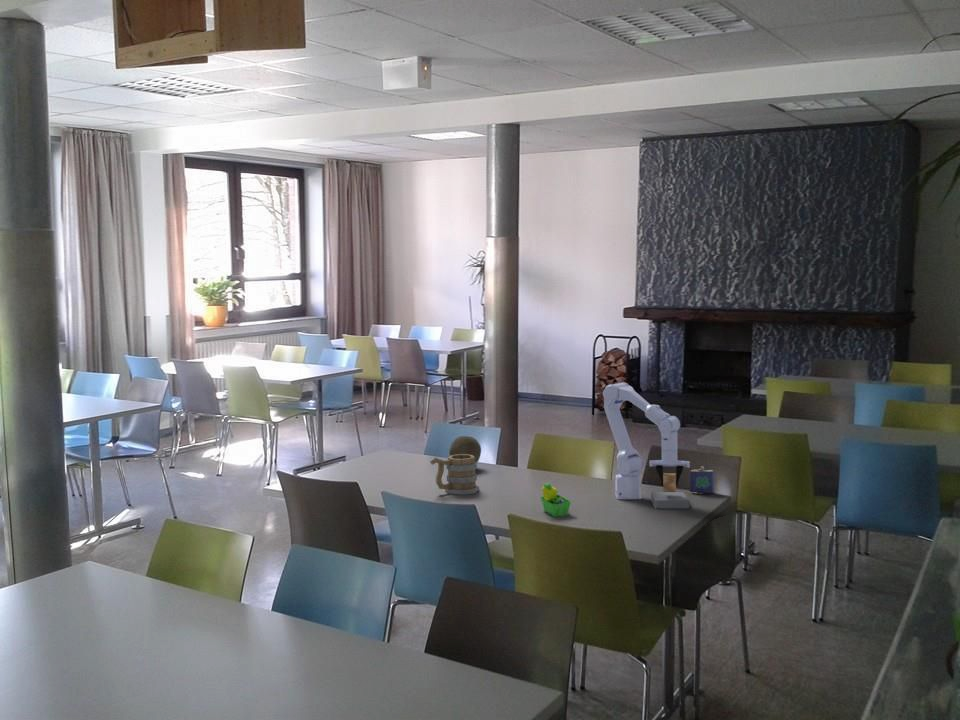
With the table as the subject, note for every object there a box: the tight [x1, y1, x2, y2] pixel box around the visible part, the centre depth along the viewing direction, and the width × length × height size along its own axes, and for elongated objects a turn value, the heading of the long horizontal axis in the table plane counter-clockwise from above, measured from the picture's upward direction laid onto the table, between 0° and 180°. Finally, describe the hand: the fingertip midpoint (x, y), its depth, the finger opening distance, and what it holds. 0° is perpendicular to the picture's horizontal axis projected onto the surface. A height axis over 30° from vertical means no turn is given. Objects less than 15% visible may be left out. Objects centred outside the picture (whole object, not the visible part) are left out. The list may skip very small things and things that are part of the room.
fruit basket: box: [540, 483, 572, 517], centre depth 317 cm, size 11×9×11 cm
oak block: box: [662, 472, 677, 492], centre depth 326 cm, size 4×4×6 cm
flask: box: [689, 465, 715, 495], centre depth 341 cm, size 9×3×11 cm, turn 87°
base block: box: [650, 491, 690, 509], centre depth 326 cm, size 12×12×3 cm
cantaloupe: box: [448, 435, 482, 464], centre depth 392 cm, size 14×14×15 cm
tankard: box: [429, 454, 480, 496], centre depth 351 cm, size 20×13×15 cm, turn 115°
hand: (669, 485), depth 325 cm, fingers closed on oak block, 4 cm apart
